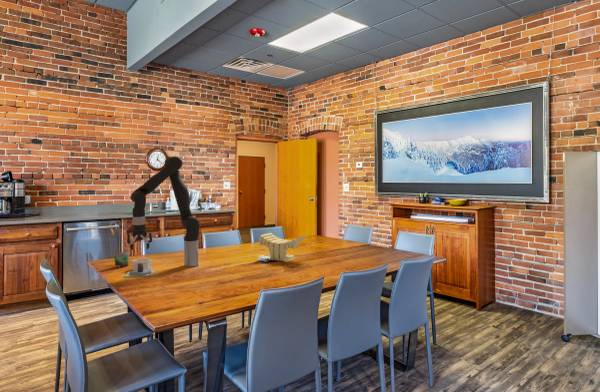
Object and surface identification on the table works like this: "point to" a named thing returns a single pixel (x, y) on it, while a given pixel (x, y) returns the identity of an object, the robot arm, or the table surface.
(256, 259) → the table surface
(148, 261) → the bowl
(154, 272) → the mat
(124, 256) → the food container
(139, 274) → the lid
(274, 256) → the slatted curved stool
